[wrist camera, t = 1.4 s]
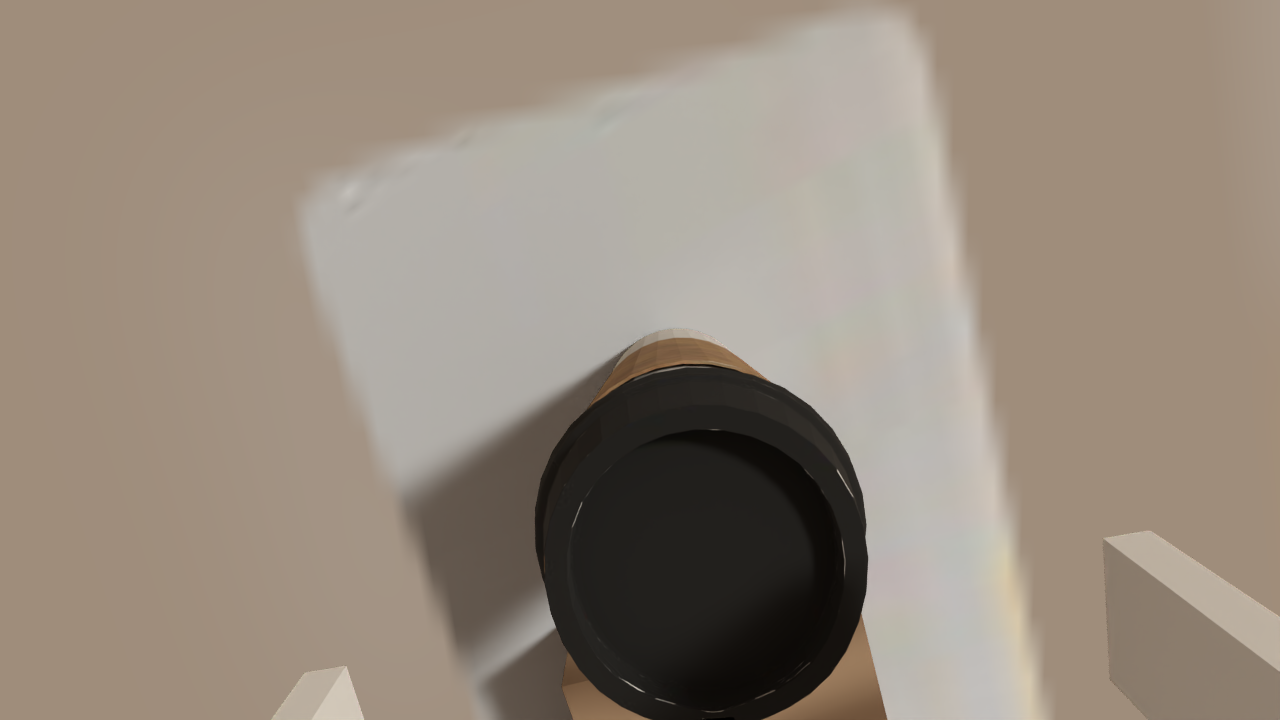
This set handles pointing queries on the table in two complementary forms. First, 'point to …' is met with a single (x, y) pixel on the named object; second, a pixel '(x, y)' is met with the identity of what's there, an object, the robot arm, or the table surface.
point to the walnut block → (830, 716)
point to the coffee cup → (701, 537)
